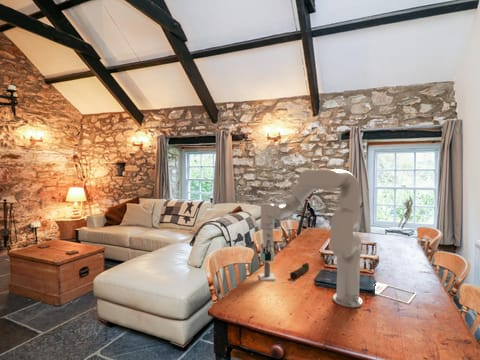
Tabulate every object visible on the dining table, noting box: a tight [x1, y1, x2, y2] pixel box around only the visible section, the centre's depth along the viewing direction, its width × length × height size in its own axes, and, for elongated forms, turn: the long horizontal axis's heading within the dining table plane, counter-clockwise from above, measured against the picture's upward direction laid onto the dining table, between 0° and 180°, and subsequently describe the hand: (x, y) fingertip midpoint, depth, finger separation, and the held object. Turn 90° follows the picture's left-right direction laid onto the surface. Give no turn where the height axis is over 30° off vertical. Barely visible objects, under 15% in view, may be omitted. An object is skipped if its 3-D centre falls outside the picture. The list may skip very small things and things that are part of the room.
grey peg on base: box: [258, 262, 276, 282], centre depth 156 cm, size 8×8×8 cm
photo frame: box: [374, 281, 418, 305], centre depth 138 cm, size 15×1×18 cm
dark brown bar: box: [289, 262, 310, 280], centre depth 161 cm, size 19×4×5 cm, turn 138°
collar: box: [259, 249, 275, 263], centre depth 156 cm, size 7×7×4 cm
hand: (266, 257), depth 156 cm, fingers closed on collar, 7 cm apart
